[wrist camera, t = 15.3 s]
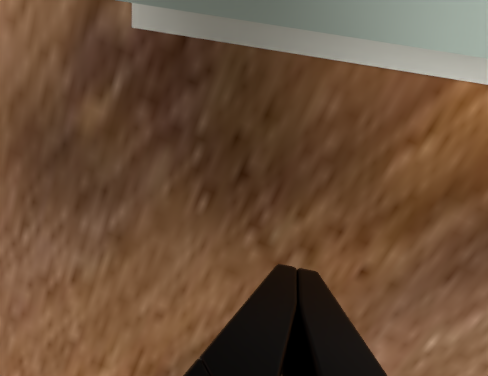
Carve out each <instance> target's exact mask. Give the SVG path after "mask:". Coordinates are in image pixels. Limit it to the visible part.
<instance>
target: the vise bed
mask: <svg viewBox="0 0 488 376" xmlns="http://www.w3.org/2000/svg"><path fill="white" fill-rule="evenodd" d="M132 28H138V29H144V30H151V31H157V32H163V33H169V34H175V35H182V36H188V37H194V38H200V39H207V40H213V41H219V42H225V43H231V44H238V45H244V46H250V47H256V48H262V49H269V50H275V51H281V52H287V53H294V54H300V55H306V56H312V57H318V58H325V59H331V60H337V61H343V62H350V63H356V64H362V65H368V66H374V67H381V68H387V69H393V70H399V71H406V72H412V73H418V74H424V75H430V76H437V77H443V78H449V79H455V80H462V81H468V82H474V83H480V84H486V85H488V59H487V58H481V57H474V56H468V55H462V54H455V53H449V52H442V51H436V50H430V49H423V48H417V47H411V46H404V45H398V44H391V43H385V42H379V41H372V40H366V39H359V38H353V37H347V36H340V35H334V34H328V33H321V32H315V31H308V30H302V29H296V28H289V27H283V26H277V25H270V24H264V23H257V22H251V21H245V20H238V19H232V18H225V17H219V16H213V15H206V14H200V13H194V12H187V11H181V10H174V9H168V8H162V7H155V6H149V5H143V4H136V3H132Z"/></svg>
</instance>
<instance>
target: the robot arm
mask: <svg viewBox="0 0 488 376" xmlns="http://www.w3.org/2000/svg"><path fill="white" fill-rule="evenodd" d="M183 376H387V374H386V373H385V372H384V370H383V369H382V367H381V366H380V364H379V363H378V361H377V360H376V358H375V357H374V355H373V354H372V352H371V351H370V349H369V348H368V346H367V345H366V343H365V342H364V340H363V339H362V337H361V336H360V334H359V333H358V331H357V330H356V328H355V327H354V325H353V324H352V323H351V321H350V320H349V318H348V317H347V315H346V314H345V312H344V311H343V309H342V308H341V306H340V305H339V303H338V302H337V300H336V299H335V297H334V296H333V294H332V293H331V291H330V290H329V288H328V287H327V285H326V284H325V282H324V281H323V279H322V278H321V276H320V275H319V274H318V272H316V271H313V270H307V269H302V268H299V269H298V270H297V269H296V268H295V267H292V266H287V265H282V264H278V265H276V266H275V267H274V269H273V270H272V271H271V272H270V273H269V275H268V276H267V277H266V278H265V279H264V281H263V282H262V283H261V284H260V285H259V287H258V288H257V289H256V290H255V291H254V293H253V294H252V295H251V296H250V297H249V298H248V300H247V301H246V302H245V303H244V304H243V306H242V307H241V308H240V309H239V310H238V312H237V313H236V314H235V315H234V316H233V318H232V319H231V320H230V321H229V322H228V323H227V325H226V326H225V327H224V328H223V329H222V331H221V332H220V333H219V334H218V335H217V337H216V338H215V339H214V340H213V341H212V343H211V344H210V345H209V346H208V347H207V349H206V350H205V351H204V352H203V353H202V354H201V356H200V357H199V359H197V360H196V361H195V362H194V364H193V365H192V366H191V367H190V368H189V370H188V371H187V372H186V373H185V374H184V375H183Z"/></svg>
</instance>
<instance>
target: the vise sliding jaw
mask: <svg viewBox="0 0 488 376" xmlns="http://www.w3.org/2000/svg"><path fill="white" fill-rule="evenodd" d="M117 1H123V2H130V3H136V4H143V5H149V6H155V7H162V8H168V9H174V10H181V11H187V12H194V13H200V14H206V15H213V16H219V17H225V18H232V19H238V20H245V21H251V22H257V23H264V24H270V25H277V26H283V27H289V28H296V29H302V30H308V31H315V32H321V33H328V34H334V35H340V36H347V37H353V38H359V39H366V40H372V41H379V42H385V43H391V44H398V45H404V46H411V47H417V48H423V49H430V50H436V51H442V52H449V53H455V54H462V55H468V56H474V57H481V58H487V59H488V0H117Z"/></svg>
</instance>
